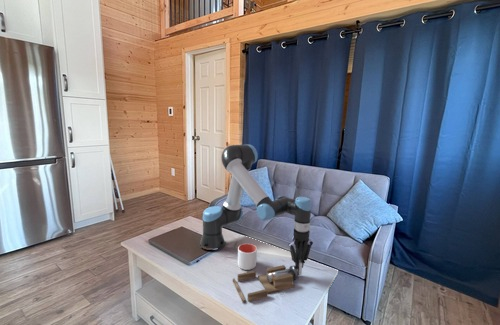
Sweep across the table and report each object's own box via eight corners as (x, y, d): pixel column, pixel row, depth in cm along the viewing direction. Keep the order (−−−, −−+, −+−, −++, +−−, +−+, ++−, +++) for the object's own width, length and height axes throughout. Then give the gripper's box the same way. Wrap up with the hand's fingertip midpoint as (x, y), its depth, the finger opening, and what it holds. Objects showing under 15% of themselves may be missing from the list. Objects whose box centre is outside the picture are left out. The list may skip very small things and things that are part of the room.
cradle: (232, 281, 114) (232, 271, 113) (280, 270, 123) (281, 261, 123) (242, 303, 100) (243, 292, 99) (296, 289, 109) (296, 279, 108)
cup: (254, 272, 121) (255, 254, 120) (235, 269, 123) (235, 251, 122) (257, 261, 131) (258, 244, 129) (240, 259, 133) (240, 242, 131)
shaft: (265, 279, 115) (265, 268, 114) (291, 273, 120) (292, 263, 119) (270, 287, 110) (271, 275, 109) (298, 281, 115) (298, 269, 114)
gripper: (294, 234, 109) (291, 281, 112) (317, 230, 113) (314, 275, 117) (285, 227, 116) (283, 271, 119) (308, 224, 120) (305, 267, 124)
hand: (298, 273), depth 118 cm, fingers closed
